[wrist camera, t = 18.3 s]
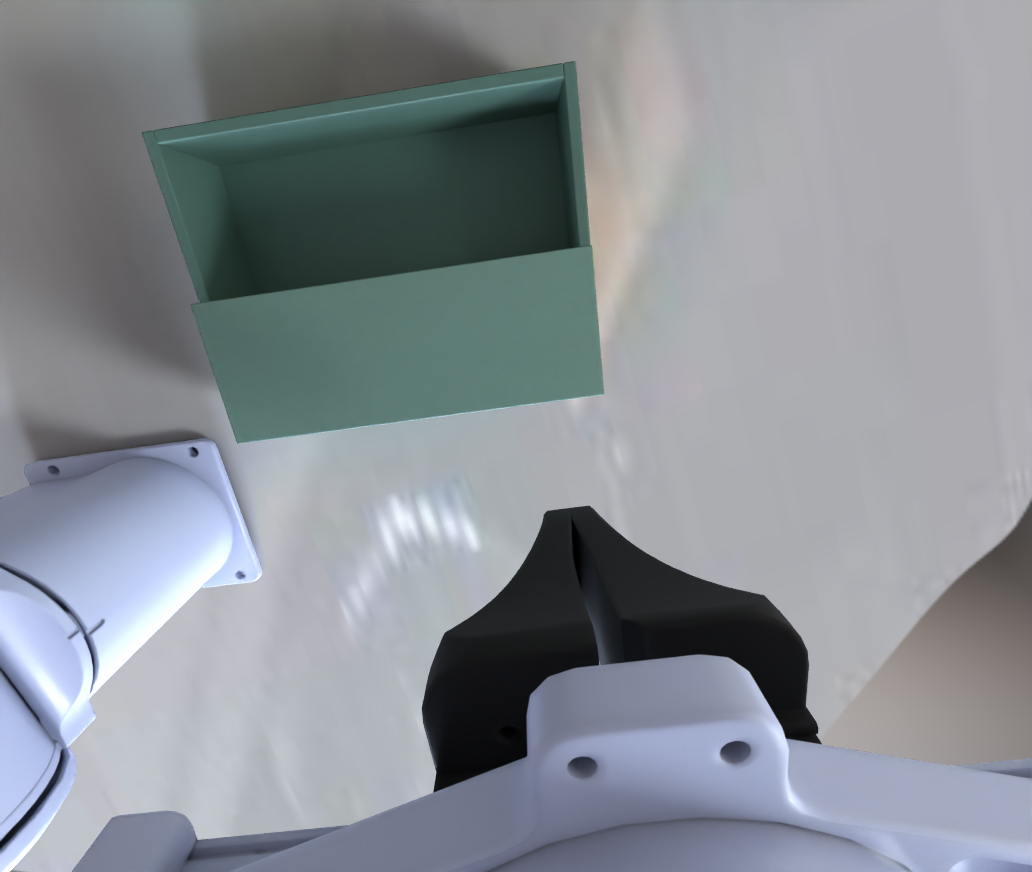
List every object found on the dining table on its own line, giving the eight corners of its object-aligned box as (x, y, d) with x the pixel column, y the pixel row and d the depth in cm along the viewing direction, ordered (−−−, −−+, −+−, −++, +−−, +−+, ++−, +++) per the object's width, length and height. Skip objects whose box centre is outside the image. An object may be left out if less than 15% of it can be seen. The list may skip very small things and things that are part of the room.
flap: (602, 393, 18) (604, 395, 18) (241, 441, 19) (237, 444, 18) (590, 245, 16) (591, 244, 16) (195, 303, 17) (189, 304, 17)
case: (587, 372, 22) (602, 392, 18) (289, 413, 23) (245, 440, 19) (563, 102, 19) (575, 60, 15) (212, 159, 19) (140, 132, 15)
